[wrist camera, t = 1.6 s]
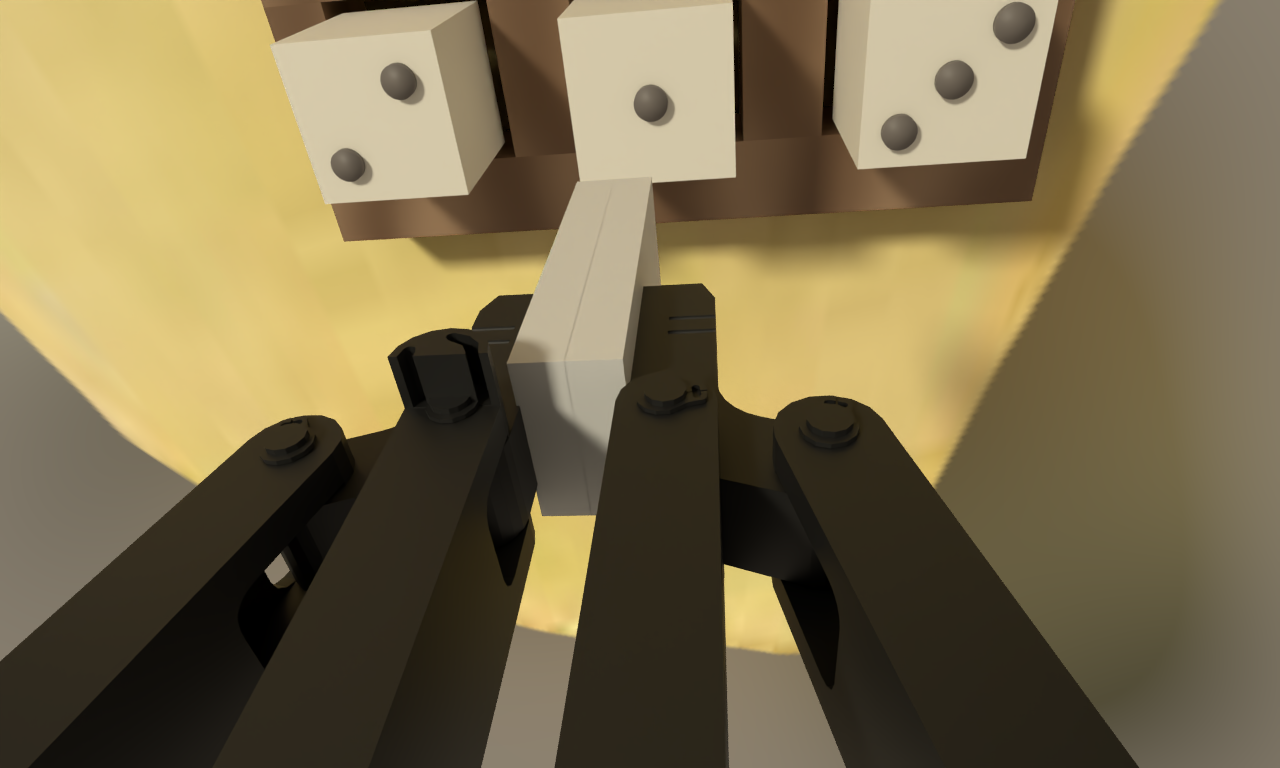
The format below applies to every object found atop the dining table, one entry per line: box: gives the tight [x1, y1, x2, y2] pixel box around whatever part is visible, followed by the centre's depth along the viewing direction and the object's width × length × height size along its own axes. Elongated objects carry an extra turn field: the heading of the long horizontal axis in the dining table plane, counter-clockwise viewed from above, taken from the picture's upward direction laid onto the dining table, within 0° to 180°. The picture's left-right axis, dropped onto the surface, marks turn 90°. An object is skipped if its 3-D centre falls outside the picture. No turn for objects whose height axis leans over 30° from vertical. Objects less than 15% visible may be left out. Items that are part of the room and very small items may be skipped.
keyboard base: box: [261, 0, 1075, 241], centre depth 30 cm, size 30×13×4 cm, turn 95°
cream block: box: [557, 0, 736, 183], centre depth 27 cm, size 5×6×6 cm
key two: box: [270, 1, 505, 204], centre depth 28 cm, size 5×6×6 cm
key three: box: [832, 0, 1058, 169], centre depth 26 cm, size 5×6×6 cm
